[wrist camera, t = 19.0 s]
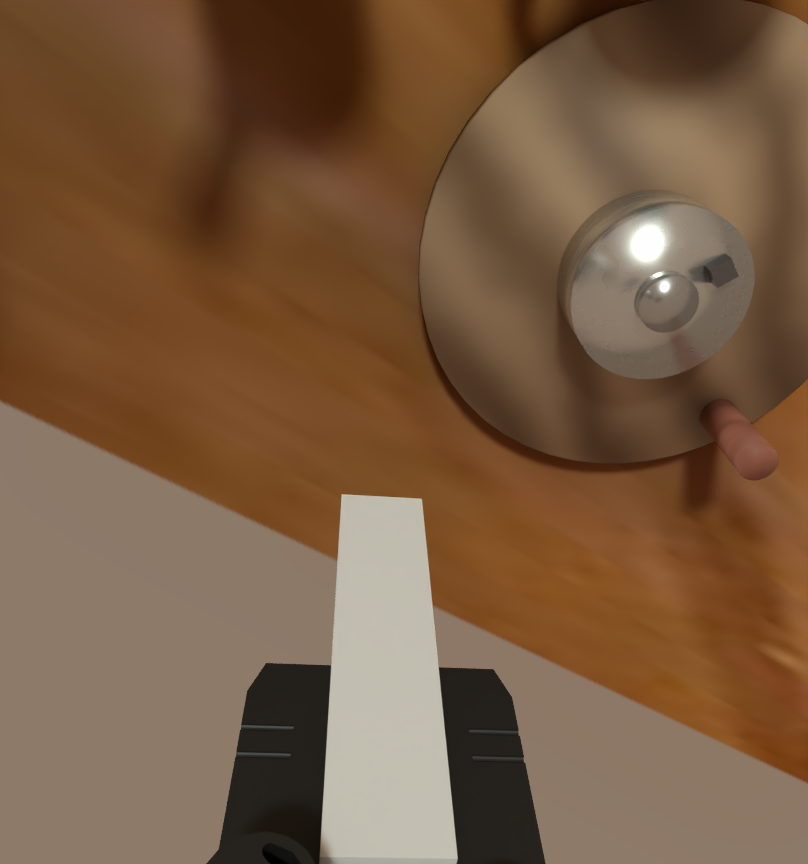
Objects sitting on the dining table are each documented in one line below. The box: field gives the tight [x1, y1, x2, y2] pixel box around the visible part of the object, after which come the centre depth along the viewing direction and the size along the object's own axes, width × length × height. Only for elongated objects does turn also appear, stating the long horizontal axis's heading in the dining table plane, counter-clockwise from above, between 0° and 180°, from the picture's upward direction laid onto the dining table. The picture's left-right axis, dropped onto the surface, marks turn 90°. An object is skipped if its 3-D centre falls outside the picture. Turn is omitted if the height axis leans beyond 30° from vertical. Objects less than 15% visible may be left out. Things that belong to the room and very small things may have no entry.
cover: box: [557, 190, 754, 379], centre depth 41 cm, size 10×10×5 cm
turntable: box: [419, 0, 808, 480], centre depth 41 cm, size 28×28×7 cm
